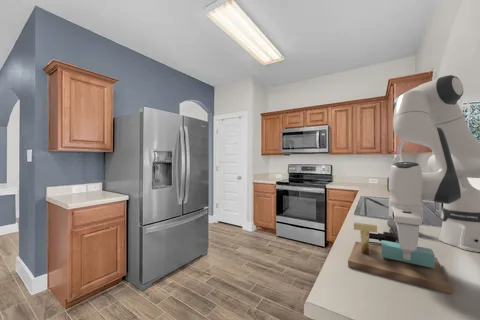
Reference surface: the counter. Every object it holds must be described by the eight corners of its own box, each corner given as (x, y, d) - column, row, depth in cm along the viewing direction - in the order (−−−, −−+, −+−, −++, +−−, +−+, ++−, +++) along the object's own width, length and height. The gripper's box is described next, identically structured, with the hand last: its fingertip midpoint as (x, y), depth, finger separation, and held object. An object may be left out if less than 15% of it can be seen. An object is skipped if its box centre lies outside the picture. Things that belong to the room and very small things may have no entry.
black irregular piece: (364, 239, 81) (413, 246, 74) (362, 221, 98) (401, 226, 91) (364, 252, 82) (413, 261, 75) (361, 232, 99) (401, 237, 92)
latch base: (436, 263, 71) (436, 257, 71) (451, 293, 54) (451, 286, 54) (355, 246, 84) (355, 241, 84) (348, 266, 68) (348, 260, 68)
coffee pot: (416, 230, 105) (416, 200, 105) (415, 236, 96) (415, 203, 96) (367, 222, 119) (367, 195, 119) (362, 226, 110) (362, 198, 110)
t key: (353, 243, 82) (353, 218, 82) (374, 246, 79) (374, 220, 79) (353, 251, 75) (353, 224, 75) (377, 255, 71) (377, 226, 71)
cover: (431, 261, 66) (431, 248, 66) (434, 268, 62) (434, 254, 62) (381, 251, 73) (381, 240, 73) (381, 256, 69) (381, 244, 69)
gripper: (392, 205, 78) (392, 242, 78) (394, 217, 61) (394, 265, 61) (414, 207, 74) (414, 246, 74) (422, 221, 58) (423, 271, 57)
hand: (405, 255), depth 68 cm, fingers closed on cover, 5 cm apart
